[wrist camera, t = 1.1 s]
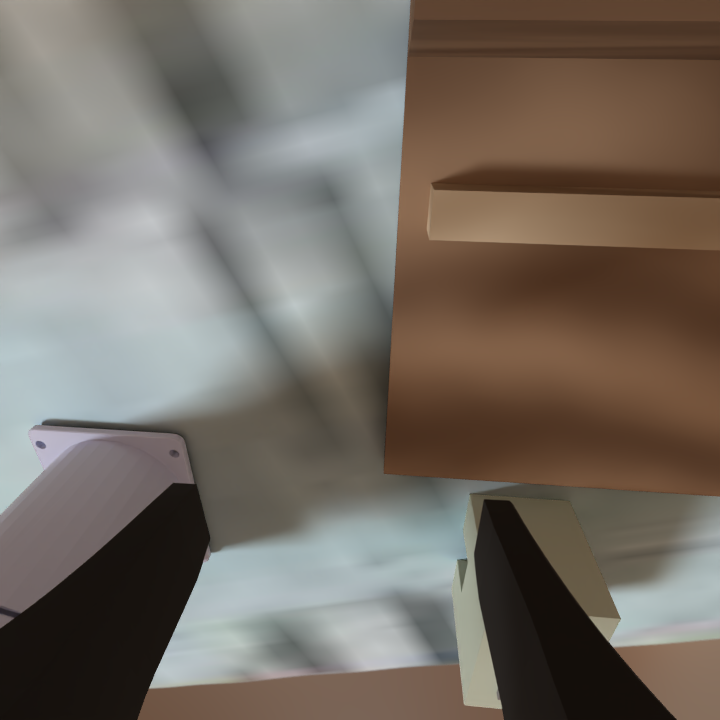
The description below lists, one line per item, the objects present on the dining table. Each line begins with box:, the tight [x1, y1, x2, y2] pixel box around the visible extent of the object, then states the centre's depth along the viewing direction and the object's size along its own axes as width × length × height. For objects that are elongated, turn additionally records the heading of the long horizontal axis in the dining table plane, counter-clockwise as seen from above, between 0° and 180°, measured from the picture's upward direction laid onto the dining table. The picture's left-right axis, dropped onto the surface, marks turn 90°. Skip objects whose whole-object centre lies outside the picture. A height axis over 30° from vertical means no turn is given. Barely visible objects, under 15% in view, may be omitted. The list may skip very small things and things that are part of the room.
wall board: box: [384, 0, 720, 496], centre depth 14 cm, size 18×16×7 cm
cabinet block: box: [452, 494, 621, 709], centre depth 22 cm, size 8×5×6 cm, turn 179°
